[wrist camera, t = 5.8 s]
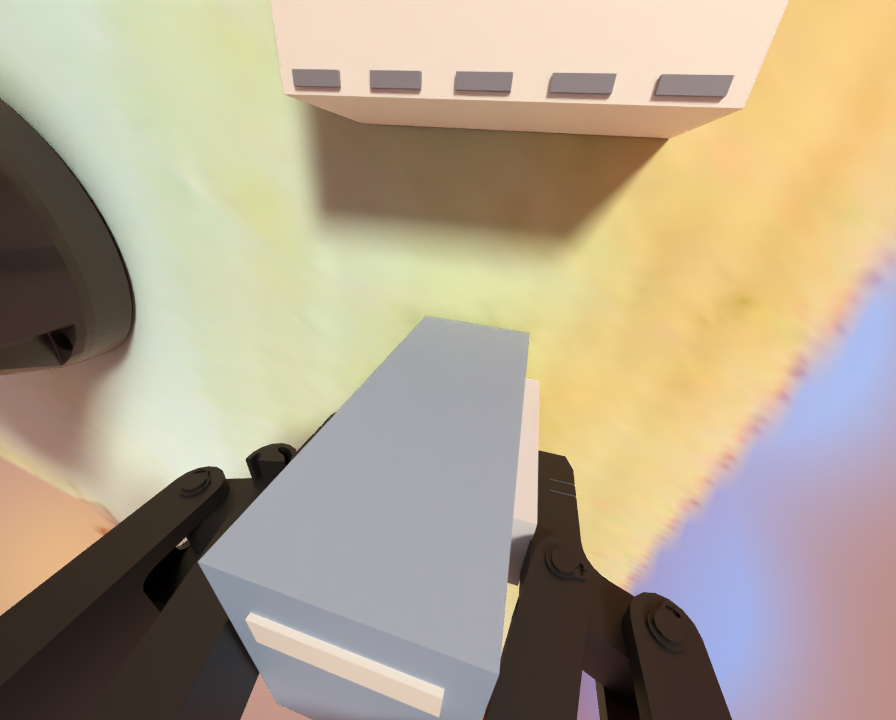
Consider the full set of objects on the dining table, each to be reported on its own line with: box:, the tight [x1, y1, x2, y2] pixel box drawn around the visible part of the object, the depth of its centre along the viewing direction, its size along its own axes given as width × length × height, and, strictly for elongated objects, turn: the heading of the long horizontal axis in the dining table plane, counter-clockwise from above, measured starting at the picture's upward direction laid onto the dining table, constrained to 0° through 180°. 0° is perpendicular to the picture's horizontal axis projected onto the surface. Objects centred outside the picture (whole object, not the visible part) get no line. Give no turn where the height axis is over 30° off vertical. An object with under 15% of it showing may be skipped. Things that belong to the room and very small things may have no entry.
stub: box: [198, 316, 529, 720], centre depth 10 cm, size 4×6×11 cm
